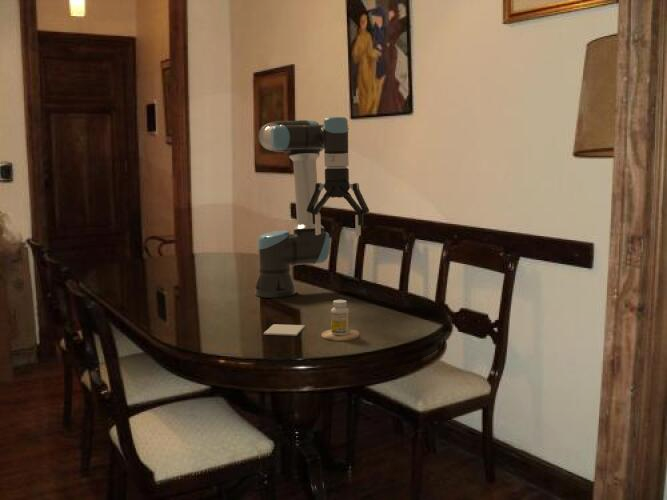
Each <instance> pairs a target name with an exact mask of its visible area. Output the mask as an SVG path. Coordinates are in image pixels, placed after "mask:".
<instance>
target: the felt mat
mask: <svg viewBox="0 0 667 500" xmlns="http://www.w3.org/2000/svg"><path fill="white" fill-rule="evenodd" d="M305 327H306V326H305V325H304V324H277V323H276V324H275V323H274V324H272V325H270V326H269V328H268V329H267V330H265V331H264V332H263V336H264V335H267V336H268V335H269V336H293V337H296V336H298V335H299V334H300V333H301V331H303V329H304V328H305Z"/></svg>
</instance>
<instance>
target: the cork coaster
mask: <svg viewBox="0 0 667 500" xmlns="http://www.w3.org/2000/svg"><path fill="white" fill-rule="evenodd" d="M359 337H360V332H359V331H358V330H356V329H351V328H349V334H347V335H333V334H332V333H331V329H327V330H324V331H322V332H321V338H322V339H324V340H327V341H334V342H346V341H351V340H352V341H353V340H355V339H356V340H357V339H358V338H359Z"/></svg>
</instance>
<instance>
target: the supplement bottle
mask: <svg viewBox="0 0 667 500" xmlns="http://www.w3.org/2000/svg"><path fill="white" fill-rule="evenodd" d="M347 302H348V301H347V300H345V299H335V300H333V301H332V306H333V307H332V308H331V309H330V325H331V326H330V330H331V333H332V334H333V335H347V334H349V329H350V309H349V308H348V307H347V305H348V303H347Z"/></svg>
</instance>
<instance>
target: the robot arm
mask: <svg viewBox="0 0 667 500" xmlns="http://www.w3.org/2000/svg"><path fill="white" fill-rule="evenodd" d="M348 123H349V121H348V118H346V117H345V116H334V117H333V116H332V117H325V118H324V120H323V124H320V123H318V122H317V121H316V120H307V119H304V120H302V119H301V120H275V121H271V122H268V123H265V124H264V125H263V126H261V127H260V129H259V131H258V133H257V134H258V135H257V137H258V142H259V144H260V146H261V147H263V149H265V150H267V151H270V152H275V153H288V158H289V159H290V160H291V161H292V163H293V175H294V176H293V177H294V178H293V179H294V193H295V194H294V195H295V209H296V210H295V212H296V226H295V227H294V228H293V233H290V232H289V230H286V229H283V230H274V231H269V232H266V233H263V234H261V235H260V236H258V239H257V250H258V277H257V282H256V284H255V289H254V294H255V296H257V297H259V298H260V297H261V298H268V299H269V298H270V299H271V298H273V299H274V298H287V297H290V296H294V295H295V294H296V285H295V282H294V280H293V277H292V274H291V266H298V265H317V264H323V263H325V262H326V261H327V259H328V258H329V255H330V249H331V248H330V247H331V239H330V234H329V232H327V231H325V227H324V226H323V225H322V224H321V223H322V222H321V213H320V210H322V208H323V207H324V205H325V204H326V203H327V201H328V200H329V199H331V198H332V199H333V198H341V199H342V198H343V199H345V200H346V201H347V203H348V204H349V206H351V208H352V209H353V210H354V212H355V213H356V214H355V221H354V222H355V237H359V236H362V235H361V234H362V231H361V230H362V229H361V227H362V226H363V225H364V215H365V214H369V212H370V209H369V207H368V205H367V203H366V200H365V199H364V197H363V194H362V192H361V191H360V184H359V183H358V182H354V183H350V181H349V180H350V175H349V173H350V169H349V166H350V165H349V160H350V159H349V124H348ZM323 150H324V151H323ZM322 151H323V152H324V156H323V157H324V167H326V168H325V169H324V183H321V182H318V173H317V159H318V158H319V157H320V152H322ZM350 189H351V191H352V192H353V194H354V196H355V199H356V200H357V202H356V200H355V199H354V198H353V197H352V195H351V193H350V192H349V190H350ZM323 190H325V193H324V194H323V196H322V198H321V199H320V201H319V198H320V195H321V192H322V191H323Z"/></svg>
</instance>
